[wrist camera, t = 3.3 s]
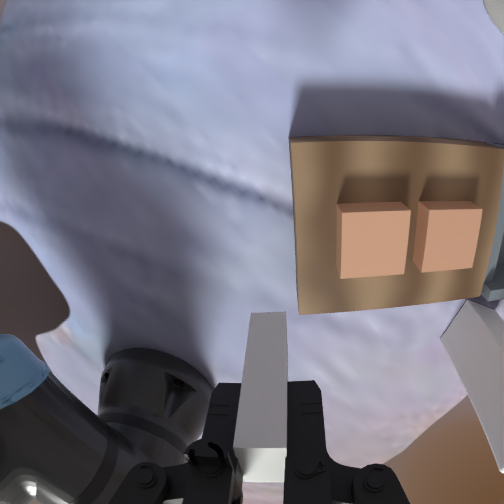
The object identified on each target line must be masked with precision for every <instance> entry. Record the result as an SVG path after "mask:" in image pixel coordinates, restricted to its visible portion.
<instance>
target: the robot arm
mask: <svg viewBox="0 0 504 504" xmlns="http://www.w3.org/2000/svg"><path fill="white" fill-rule="evenodd" d="M202 432H203V435H202V439H199V440H197V439H198V438H199V436H200V435H201V433H202ZM187 461H188V462H187ZM243 480H244V482H284V500H283V504H410V503H409V501H408V499H407V497H406V494H405V492H404V490H403V488H402V486H401V484H400V482H399V480H398V478H397V476H396V474H395V473H394V472H393V470H392V469H391V468H389V467H387V466H386V465H383V464H371V465H367V466H365V467H363V468H362V469H360V468H354V467H349V466H344V465H341V464H338V463H337V462H335V461H334V460H333V459H331V458H330V456H329V455H328V453H327V449H326V441H325V429H324V417H323V406H322V395H321V390H320V388H319V387H318V385H317V384H316V382H315V381H314V380H312V381H292V382H288V346H287V322H286V312H267V313H251V316H250V324H249V332H248V339H247V347H246V354H245V362H244V369H243V377H242V383H219V384H218V385H217V386H216V388H215V389H214V390H213V389H212V387H211V385H210V384H209V382H208V381H207V380H206V379H205V378H204V376H203V375H201V374H200V373H199V372H198V371H197V370H196V369H194V368H193V367H191V366H190V365H188V364H187V363H185V362H183V361H182V360H180V359H178V358H175V357H173V356H170V355H168V354H165V353H162V352H158V351H154V350H148V349H128V350H124V351H121V352H118V353H116V354H115V355H114V356H112V357H111V358H110V360H109V362H108V363H107V365H106V367H105V369H104V371H103V373H102V376H101V383H100V393H99V405H98V415H96V414H95V413H93V412H92V411H91V410H90V409H89V408H88V407H87V406H85V405H84V404H83V403H82V402H81V401H80V400H79V399H78V398H77V397H76V396H75V395H73V394H72V393H71V392H70V391H69V390H68V389H67V388H66V387H65V386H64V385H63V384H62V383H61V382H60V381H59V380H58V379H57V378H56V377H55V376H54V375H53V374H52V373H51V372H50V371H49V367H48V366H47V364H46V363H45V362H43V361H41V360H39V359H38V358H37V357H36V356H35V355H34V354H33V353H32V352H31V351H30V350H29V349H28V348H27V347H26V345H24V343H23V342H22V341H20V340H19V339H18V338H17V337H15V336H13V335H9V334H2V335H0V504H28V503H29V502H30V501H32V500H33V499H36V500H38V501H39V502H41V503H42V504H242V502H243V493H242V481H243Z"/></svg>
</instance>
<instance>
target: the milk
mask: <svg viewBox="0 0 504 504" xmlns="http://www.w3.org/2000/svg"><path fill="white" fill-rule="evenodd" d="M440 341H441V342H442V344H443V346H444V348H445V350H446V352H447V354H448V356H449V357H450V359H451V361H452V363H453V365H454V367H455V369H456V371H457V373H458V375H459V377H460V379H461V381H462V383H463V385H464V387H465V389H466V392H467V394H468V396H469V398H470V400H471V402H472V404H473V407H474V409H475V411H476V413H477V416H478V418H479V420H480V422H481V425H482V427H483V429H484V432H485V434H486V437H487V439H488V442H489V444H490V446H491V449H492V452H493V454H494V457H495V460H496V462H497V465H498V468H499V471H500V472H502V473H504V321H503V319H502V318H501V317H500V316H499V314H498V313H497V312H496V311H495V310H493V309H491V308H488V307H485V306H483V305H480V304H478V303H475V302H472V301H470V300H466V302H465V303H464V305H463V306H462V308H461V309H460V311H459V312H458V314H457V315H456V317H455V318H454V320H453V321H452V323H451V324H450V326H449V327H448V328H447V330H446V331H445V333H444V334H443V335H442V337H441V338H440Z"/></svg>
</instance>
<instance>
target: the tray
mask: <svg viewBox="0 0 504 504" xmlns="http://www.w3.org/2000/svg"><path fill="white" fill-rule="evenodd" d="M483 143H486V144H489V145H493V146H496V147H499V148H502V149H504V144H496V143H488V142H483ZM481 294H482V295H483V297H484V298H485V299H486V300H487V302H488V301H494V300H500V299H504V167H503V178H502V188H501V196H500V204H499V211H498V218H497V224H496V229H495V235H494V240H493V245H492V250H491V255H490V259H489V263H488V268H487V272H486V276H485V280H484V283H483V287H482V291H481Z"/></svg>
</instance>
